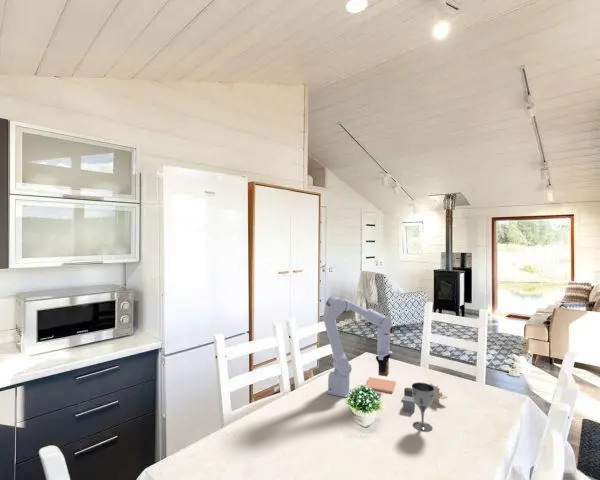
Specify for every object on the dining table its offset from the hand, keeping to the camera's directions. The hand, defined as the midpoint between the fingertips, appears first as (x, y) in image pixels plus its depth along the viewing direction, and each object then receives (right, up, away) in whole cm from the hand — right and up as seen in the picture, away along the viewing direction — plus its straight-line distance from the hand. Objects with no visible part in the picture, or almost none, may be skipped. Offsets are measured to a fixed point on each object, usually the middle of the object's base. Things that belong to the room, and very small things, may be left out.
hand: (383, 370), depth 162 cm
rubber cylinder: (+9, -9, -9) cm, 16 cm away
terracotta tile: (-1, -9, +4) cm, 10 cm away
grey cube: (+6, -9, -19) cm, 22 cm away
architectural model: (+20, -10, -12) cm, 25 cm away
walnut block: (0, -2, 0) cm, 2 cm away
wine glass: (+7, -9, -32) cm, 34 cm away
